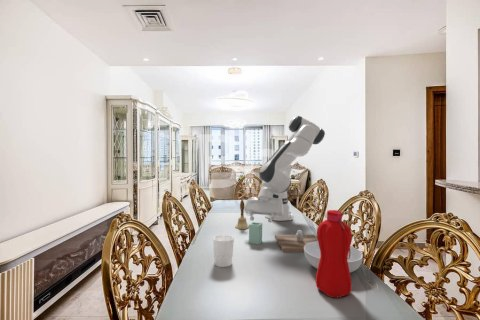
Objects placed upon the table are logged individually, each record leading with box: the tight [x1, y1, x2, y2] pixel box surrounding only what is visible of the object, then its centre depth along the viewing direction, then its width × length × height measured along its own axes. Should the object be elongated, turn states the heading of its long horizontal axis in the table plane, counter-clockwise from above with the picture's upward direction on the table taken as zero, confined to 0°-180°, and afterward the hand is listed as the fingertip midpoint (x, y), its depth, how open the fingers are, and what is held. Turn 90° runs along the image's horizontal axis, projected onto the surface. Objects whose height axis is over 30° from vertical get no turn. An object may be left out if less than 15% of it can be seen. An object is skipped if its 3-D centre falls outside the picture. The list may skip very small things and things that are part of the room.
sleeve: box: [248, 221, 263, 245], centre depth 127 cm, size 5×5×9 cm
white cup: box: [212, 234, 235, 268], centre depth 101 cm, size 8×8×10 cm
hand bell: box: [235, 199, 249, 230], centre depth 153 cm, size 8×8×16 cm
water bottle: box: [315, 209, 353, 298], centre depth 80 cm, size 9×11×25 cm
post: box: [295, 229, 304, 242], centre depth 124 cm, size 3×3×5 cm
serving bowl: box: [303, 241, 364, 274], centre depth 98 cm, size 21×21×7 cm
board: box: [274, 234, 318, 253], centre depth 124 cm, size 20×20×2 cm
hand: (260, 221), depth 130 cm, fingers open, 8 cm apart
